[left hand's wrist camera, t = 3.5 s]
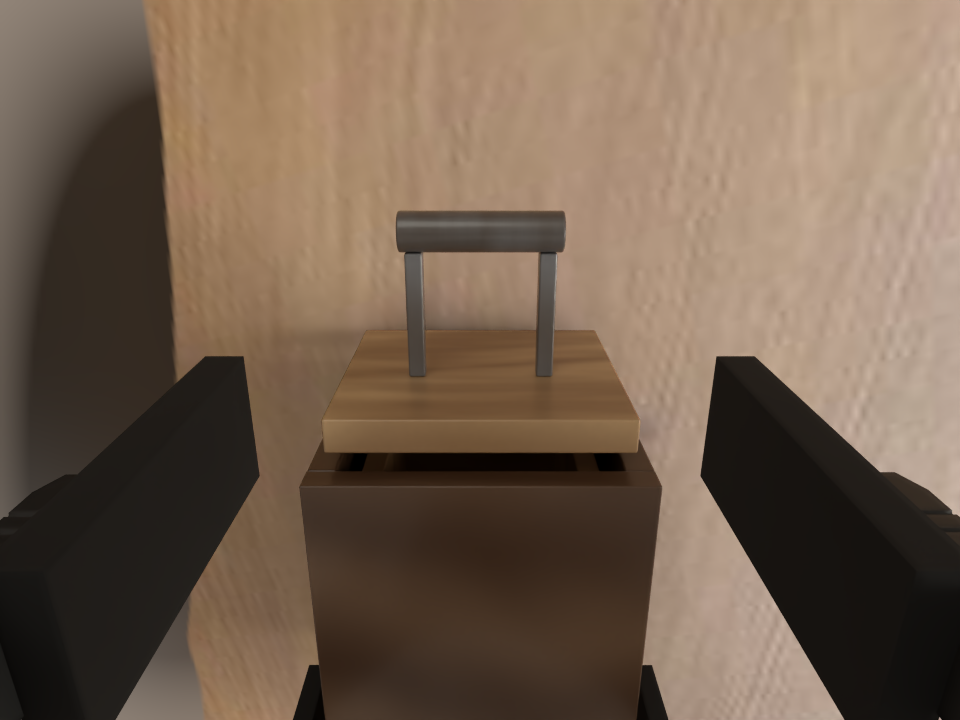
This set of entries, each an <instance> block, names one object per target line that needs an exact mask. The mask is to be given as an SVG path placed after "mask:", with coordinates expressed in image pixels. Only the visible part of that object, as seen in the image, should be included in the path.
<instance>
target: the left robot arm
mask: <svg viewBox="0 0 960 720" xmlns="http://www.w3.org/2000/svg"><path fill="white" fill-rule="evenodd" d="M258 478H259V468H258V461H257V453H256V446H255V439H254V431H253V424H252V416H251V409H250V401H249V394H248V387H247V379H246V372H245V364H244V357H243V356H205V357H204V358H203V359H202V360H201V361H200V362H199V363H198V364H197V365H196V366H195V367H193V368H192V369H191V370H190V371H189V372H188V373H187V374H186V375H185V376H184V377H183V378H182V379H180V380H179V381H178V382H177V383H176V384H175V385H174V386H173V387H172V388H171V389H170V390H169V391H167V392H166V393H165V394H164V395H163V396H162V397H161V398H160V399H159V400H158V401H157V402H156V403H154V404H153V405H152V406H151V407H150V408H149V409H148V410H147V411H146V412H145V413H144V414H143V415H141V416H140V417H139V418H138V419H137V420H136V421H135V422H134V423H133V424H132V425H131V426H130V427H129V428H127V429H126V430H125V431H124V432H123V433H122V434H121V435H120V436H119V437H118V438H117V439H116V440H114V441H113V442H112V443H111V444H110V445H109V446H108V447H107V448H106V449H105V450H104V451H103V452H101V453H100V454H99V455H98V456H97V457H96V458H95V459H94V460H93V461H92V462H91V463H90V464H88V465H87V466H86V467H85V468H84V469H83V470H82V471H81V472H80V473H79V474H78V475H64V476H62V477H60V478H58V479H57V480H55V481H53V482H51V483H49V484H47V485H45V486H43V487H42V488H40V489H38V490H36V491H34V492H32V493H31V494H30V495H29V496H28V497H26V498H25V499H24V500H23V501H22V502H21V503H20V504H18V505H17V506H16V507H15V508H14V509H13V510H12V511H10V512H9V516H8V517H3V518H2V519H1V520H0V720H21V719H22V720H116V718H117V716H118V715H119V713H120V711H121V709H122V708H123V706H124V704H125V703H126V701H127V699H128V698H129V696H130V694H131V693H132V691H133V689H134V688H135V686H136V684H137V682H138V681H139V679H140V677H141V676H142V674H143V672H144V671H145V669H146V667H147V666H148V664H149V662H150V660H151V659H152V657H153V655H154V654H155V652H156V650H157V649H158V647H159V645H160V644H161V642H162V640H163V638H164V637H165V635H166V633H167V632H168V630H169V628H170V627H171V625H172V623H173V621H174V620H175V618H176V616H177V615H178V613H179V611H180V610H181V608H182V606H183V604H184V603H185V601H186V599H187V598H188V596H189V594H190V593H191V591H192V589H193V588H194V586H195V584H196V583H197V581H198V579H199V577H200V576H201V574H202V572H203V571H204V569H205V567H206V566H207V564H208V562H209V561H210V559H211V557H212V555H213V554H214V552H215V550H216V549H217V547H218V545H219V544H220V542H221V540H222V539H223V537H224V535H225V533H226V532H227V530H228V528H229V527H230V525H231V523H232V522H233V520H234V518H235V517H236V515H237V513H238V511H239V510H240V508H241V506H242V505H243V503H244V501H245V500H246V498H247V496H248V495H249V493H250V491H251V489H252V488H253V486H254V484H255V483H256V481H257V479H258ZM701 478H702V479H703V481H704V483H705V484H706V486H707V488H708V489H709V491H710V493H711V495H712V496H713V498H714V500H715V501H716V503H717V505H718V506H719V508H720V510H721V511H722V513H723V515H724V517H725V518H726V520H727V522H728V523H729V525H730V527H731V528H732V530H733V532H734V533H735V535H736V537H737V539H738V540H739V542H740V544H741V545H742V547H743V549H744V550H745V552H746V554H747V555H748V557H749V559H750V561H751V562H752V564H753V566H754V567H755V569H756V571H757V572H758V574H759V576H760V577H761V579H762V581H763V583H764V584H765V586H766V588H767V589H768V591H769V593H770V594H771V596H772V598H773V599H774V601H775V603H776V605H777V606H778V608H779V610H780V611H781V613H782V615H783V616H784V618H785V620H786V621H787V623H788V625H789V627H790V628H791V630H792V632H793V633H794V635H795V637H796V638H797V640H798V642H799V643H800V645H801V647H802V649H803V650H804V652H805V654H806V655H807V657H808V659H809V660H810V662H811V664H812V665H813V667H814V669H815V671H816V672H817V674H818V676H819V677H820V679H821V681H822V682H823V684H824V686H825V687H826V689H827V691H828V693H829V694H830V696H831V698H832V699H833V701H834V703H835V704H836V706H837V708H838V709H839V711H840V713H841V715H842V716H843V718H844V720H939V717H940V718H941V719H942V720H960V517H959V516H958V515H953V514H952V510H951V509H950V508H949V507H947V506H946V505H945V504H944V503H943V502H942V501H940V500H939V499H938V498H937V497H936V496H935V495H933V494H932V493H931V492H930V491H929V490H927V489H925V488H924V487H922V486H920V485H918V484H916V483H914V482H912V481H910V480H908V479H906V478H905V477H903V476H901V475H899V474H897V473H895V472H879V471H878V470H877V469H876V468H875V467H874V466H873V465H872V464H870V463H869V462H868V461H867V460H866V459H865V458H864V457H863V456H862V455H861V454H860V453H859V452H858V451H856V450H855V449H854V448H853V447H852V446H851V445H850V444H849V443H848V442H847V441H846V440H845V439H843V438H842V437H841V436H840V435H839V434H838V433H837V432H836V431H835V430H834V429H833V428H832V427H830V426H829V425H828V424H827V423H826V422H825V421H824V420H823V419H822V418H821V417H820V416H819V415H817V414H816V413H815V412H814V411H813V410H812V409H811V408H810V407H809V406H808V405H807V404H806V403H804V402H803V401H802V400H801V399H800V398H799V397H798V396H797V395H796V394H795V393H794V392H793V391H791V390H790V389H789V388H788V387H787V386H786V385H785V384H784V383H783V382H782V381H781V380H780V379H778V378H777V377H776V376H775V375H774V374H773V373H772V372H771V371H770V370H769V369H768V368H767V367H765V366H764V365H763V364H762V363H761V362H760V361H759V360H758V359H757V358H756V357H755V356H717V357H716V364H715V372H714V379H713V387H712V394H711V401H710V409H709V416H708V424H707V431H706V439H705V446H704V453H703V461H702V468H701Z"/></svg>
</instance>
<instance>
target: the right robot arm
mask: <svg viewBox="0 0 960 720" xmlns="http://www.w3.org/2000/svg"><path fill="white" fill-rule="evenodd" d="M293 720H325V714H324V705H323V696H322V687H321V678H320V669H319V665H309V668H308V671H307V675H306V678H305V681H304V685H303V688H302V691H301V695H300V698H299V701H298V705H297V708H296V711H295V715H294V718H293ZM636 720H668V717H667V714H666V710H665V707H664V704H663V700H662V697H661V694H660V691H659V687H658V684H657V681H656V677H655V674H654V671H653V667H652V665H642V673H641V682H640V691H639V699H638V708H637V717H636Z"/></svg>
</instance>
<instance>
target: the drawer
mask: <svg viewBox="0 0 960 720" xmlns="http://www.w3.org/2000/svg"><path fill="white" fill-rule="evenodd" d="M565 239H566V218H565V213H564V211H398V212H397V216H396V242H397V248H398V251H399V252H406V253H405V255H404V261H405V285H406V310H407V330H367V331H366V332H365V334H364V336H363V338H362V340H361V342H360V344H359V346H358V348H357V350H356V352H355V354H354V356H353V358H352V360H351V362H350V364H349V366H348V368H347V370H346V372H345V374H344V376H343V378H342V380H341V382H340V384H339V386H338V388H337V390H336V392H335V394H334V396H333V398H332V400H331V402H330V404H329V406H328V408H327V410H326V412H325V414H324V416H323V418H322V420H321V424H322V435H323V445H324V452H325V453H368V454H367V457H366V460H365V463H364V466H363V469H362V471H599V468H598V465H597V462H596V459H595V456H594V453H637V451H638V442H639V432H640V419H639V417H638V415H637V413H636V411H635V409H634V407H633V405H632V403H631V401H630V399H629V397H628V395H627V393H626V391H625V389H624V387H623V385H622V383H621V381H620V379H619V377H618V375H617V373H616V371H615V369H614V367H613V365H612V363H611V362H610V360H609V358H608V356H607V354H606V352H605V350H604V348H603V346H602V344H601V342H600V340H599V338H598V336H597V334H596V332H595V331H594V330H554V326H555V302H556V278H557V253H556V252H563V251H564V247H565ZM423 252H539V258H538V290H537V321H536V330H425V302H424V269H423Z"/></svg>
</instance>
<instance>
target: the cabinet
mask: <svg viewBox="0 0 960 720" xmlns="http://www.w3.org/2000/svg"><path fill="white" fill-rule="evenodd" d="M367 454H368V453H325V452H324V445H323V439H322V441H321V443H320V446H319V448H318V450H317V452H316V454H315V456H314V458H313V460H312V463H311V465H310V467H309V469H308V471H307V472H306V474H305V476H304V478H303V481H302V483H301V485H300V496H301V505H302V514H303V524H304V533H305V542H306V551H307V560H308V569H309V578H310V587H311V596H312V605H313V614H314V623H315V632H316V641H317V650H318V660H319V669H320V678H321V687H322V696H323V705H324V714H325V720H636V717H637V708H638V699H639V691H640V682H641V673H642V664H643V655H644V646H645V637H646V628H647V619H648V610H649V601H650V592H651V583H652V574H653V566H654V557H655V548H656V539H657V530H658V521H659V512H660V503H661V494H662V485H661V483H660V481H659V479H658V477H657V475H656V473H655V471H654V469H653V467H652V465H651V463H650V461H649V458H648V456H647V454H646V452H645V450H644V448H643V446H642V444H641V442H640V440H639V442H638V451H637V453H594V456H595V459H596V462H597V465H598V468H599V471H362V469H363V466H364V463H365V460H366V457H367Z"/></svg>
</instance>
